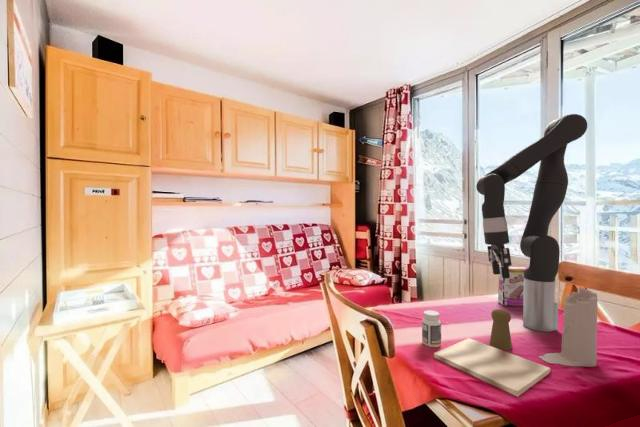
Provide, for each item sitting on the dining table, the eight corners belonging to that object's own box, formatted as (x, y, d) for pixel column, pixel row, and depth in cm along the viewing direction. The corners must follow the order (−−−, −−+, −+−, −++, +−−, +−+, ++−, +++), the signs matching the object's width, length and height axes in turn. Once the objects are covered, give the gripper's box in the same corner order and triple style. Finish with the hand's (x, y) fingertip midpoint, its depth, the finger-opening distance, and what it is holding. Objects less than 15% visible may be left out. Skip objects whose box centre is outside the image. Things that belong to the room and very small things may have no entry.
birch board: (433, 357, 88) (433, 353, 88) (468, 341, 98) (468, 338, 98) (517, 396, 70) (517, 391, 70) (550, 372, 80) (550, 368, 80)
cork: (485, 341, 98) (485, 307, 98) (503, 341, 98) (503, 307, 98) (497, 350, 92) (498, 314, 92) (516, 349, 92) (517, 313, 92)
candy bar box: (503, 306, 132) (503, 268, 132) (497, 302, 137) (498, 266, 137) (530, 307, 131) (531, 269, 131) (524, 303, 136) (524, 266, 136)
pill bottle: (441, 341, 98) (441, 311, 98) (440, 349, 93) (440, 317, 93) (423, 338, 100) (423, 308, 100) (420, 345, 95) (421, 314, 95)
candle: (533, 353, 90) (534, 286, 89) (581, 354, 90) (582, 286, 89) (551, 366, 83) (552, 293, 82) (603, 367, 82) (605, 293, 82)
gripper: (515, 229, 102) (521, 279, 101) (499, 229, 115) (504, 272, 115) (491, 232, 103) (497, 280, 102) (477, 231, 117) (483, 273, 116)
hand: (501, 276), depth 108 cm, fingers open, 8 cm apart
